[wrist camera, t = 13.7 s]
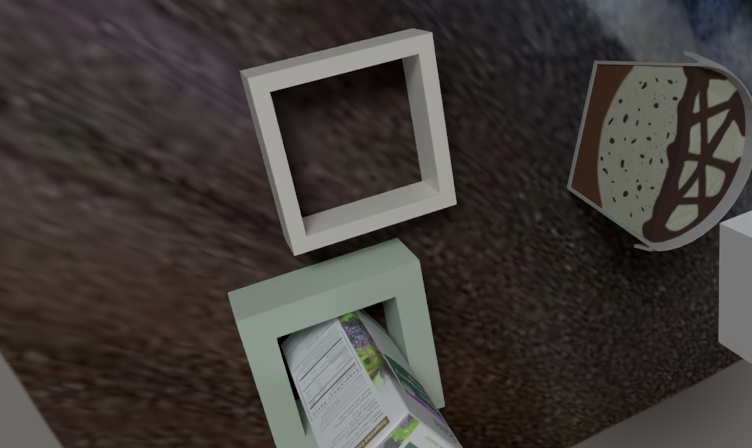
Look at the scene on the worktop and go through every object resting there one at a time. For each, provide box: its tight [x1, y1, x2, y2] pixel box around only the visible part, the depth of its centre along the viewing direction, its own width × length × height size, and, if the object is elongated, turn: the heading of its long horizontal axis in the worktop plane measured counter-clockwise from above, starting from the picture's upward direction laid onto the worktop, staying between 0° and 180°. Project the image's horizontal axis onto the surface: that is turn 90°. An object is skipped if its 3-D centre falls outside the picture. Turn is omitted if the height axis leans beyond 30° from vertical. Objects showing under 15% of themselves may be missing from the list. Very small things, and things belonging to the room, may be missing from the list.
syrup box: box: [281, 309, 463, 448], centre depth 40 cm, size 6×6×14 cm
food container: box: [567, 51, 752, 251], centre depth 44 cm, size 12×6×10 cm, turn 173°
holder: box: [240, 28, 457, 256], centre depth 40 cm, size 11×11×3 cm
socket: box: [228, 238, 445, 448], centre depth 45 cm, size 12×12×4 cm
